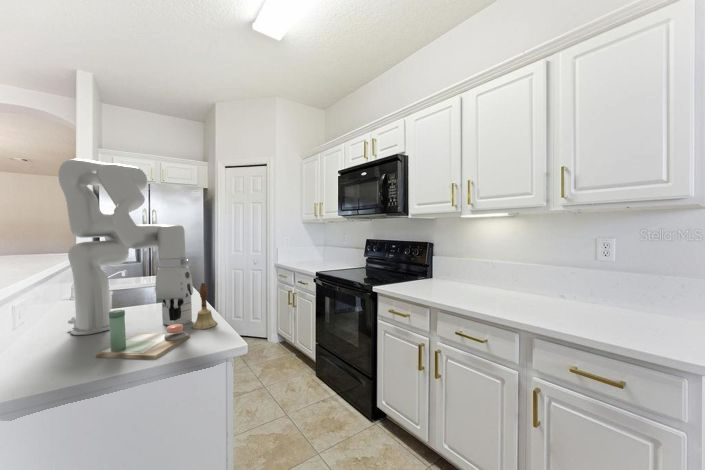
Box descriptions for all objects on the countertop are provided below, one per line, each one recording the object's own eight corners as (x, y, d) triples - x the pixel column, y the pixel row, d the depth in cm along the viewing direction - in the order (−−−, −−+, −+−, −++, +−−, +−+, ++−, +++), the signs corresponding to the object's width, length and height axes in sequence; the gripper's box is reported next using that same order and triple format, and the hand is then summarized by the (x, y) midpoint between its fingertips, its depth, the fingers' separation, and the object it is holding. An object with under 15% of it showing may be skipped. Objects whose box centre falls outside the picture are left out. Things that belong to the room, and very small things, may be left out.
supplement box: (161, 324, 115) (160, 291, 114) (180, 318, 121) (179, 287, 120) (173, 327, 111) (172, 293, 110) (192, 321, 118) (191, 289, 117)
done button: (163, 333, 97) (163, 328, 97) (172, 328, 102) (172, 323, 102) (177, 333, 97) (177, 329, 97) (186, 328, 101) (186, 324, 101)
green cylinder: (106, 351, 89) (104, 313, 88) (117, 346, 92) (116, 309, 92) (119, 351, 88) (117, 314, 88) (129, 346, 92) (128, 310, 91)
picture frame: (96, 357, 88) (95, 350, 88) (138, 335, 104) (138, 329, 103) (155, 358, 86) (155, 352, 86) (189, 336, 102) (189, 331, 102)
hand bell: (187, 328, 110) (185, 285, 109) (202, 321, 118) (200, 280, 117) (207, 330, 109) (206, 285, 108) (221, 322, 117) (220, 281, 116)
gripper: (201, 261, 101) (203, 315, 102) (158, 261, 102) (161, 315, 103) (187, 264, 94) (190, 323, 95) (141, 265, 95) (144, 323, 96)
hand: (175, 319), depth 99 cm, fingers closed
